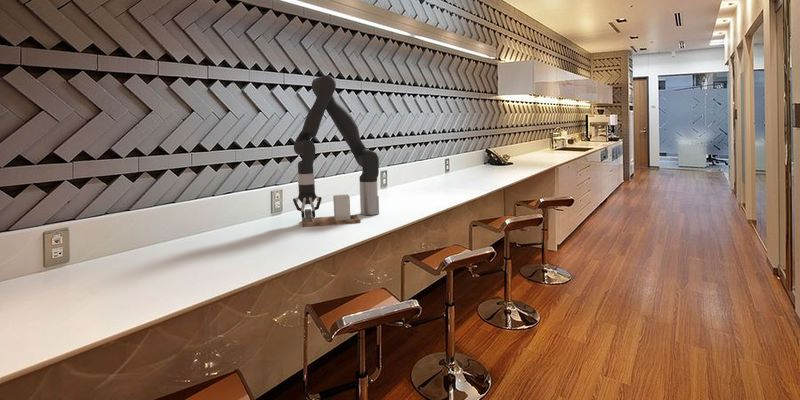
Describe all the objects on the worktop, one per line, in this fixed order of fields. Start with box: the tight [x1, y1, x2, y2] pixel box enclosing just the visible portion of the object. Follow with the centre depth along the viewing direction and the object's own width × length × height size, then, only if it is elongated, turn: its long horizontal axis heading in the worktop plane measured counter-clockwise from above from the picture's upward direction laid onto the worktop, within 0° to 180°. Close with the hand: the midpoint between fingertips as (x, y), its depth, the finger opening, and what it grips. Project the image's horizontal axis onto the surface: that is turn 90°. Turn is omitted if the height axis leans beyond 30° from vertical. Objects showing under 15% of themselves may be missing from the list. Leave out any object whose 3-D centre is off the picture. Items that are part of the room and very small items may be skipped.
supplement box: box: [332, 194, 352, 221], centre depth 214 cm, size 7×7×13 cm
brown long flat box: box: [301, 208, 362, 228], centre depth 212 cm, size 27×12×6 cm, turn 104°
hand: (308, 218), depth 210 cm, fingers open, 3 cm apart
